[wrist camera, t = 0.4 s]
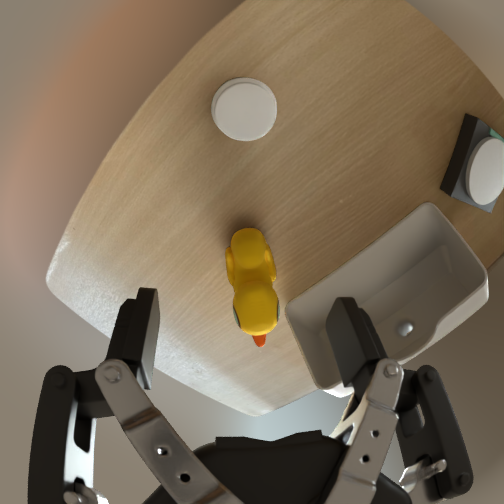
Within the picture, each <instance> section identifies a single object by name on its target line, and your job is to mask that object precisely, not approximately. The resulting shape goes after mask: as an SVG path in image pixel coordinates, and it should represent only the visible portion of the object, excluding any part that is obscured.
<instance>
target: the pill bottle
mask: <svg viewBox="0 0 504 504" xmlns="http://www.w3.org/2000/svg"><path fill="white" fill-rule="evenodd" d="M211 113H212V117H213V120H214V122H215V124H216V125H217V127H218V128H219V129H220V130H221V131H222V132H223V133H224V134H225V135H227V136H228V137H230V138H232V139H235V140H239V141H251V140H255V139H258V138H260V137H262V136H263V135H265V134H266V133H267V132H268V131H269V130H270V129H271V128H272V126H273V124H274V122H275V120H276V115H277V103H276V99H275V96H274V94H273V92H272V91H271V89H270V88H269V87H268V86H267V85H265V84H264V83H263V82H261V81H259V80H256V79H253V78H247V77H238V78H233V79H230V80H228V81H226V82H225V83H223V84H222V85H221V86H220V87H219V88H218V90H217V91H216V93H215V95H214V97H213V99H212V104H211Z"/></svg>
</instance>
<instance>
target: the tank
mask: <svg viewBox="0 0 504 504" xmlns="http://www.w3.org/2000/svg"><path fill="white" fill-rule="evenodd" d="M337 297H353V298H354V299H355V301H356V303H357V305H358V307H359V308H363V309H364V311H365V312H366V313H367V314H368V315H369V316H370V318H371V320H372V323H373V326H374V327H375V329H376V333H378V335H379V338H380V340H381V342H382V344H383V346H384V349H385V351H386V353H387V356H388V358H390V359H393V360H395V361H397V362H398V363H399V364H400V365H403V364H404V363H405V362H407V361H409V360H410V359H412V358H414V357H415V356H417V355H418V354H420V353H421V352H423V351H424V350H426V349H427V348H428V347H430V346H431V345H433V344H434V343H436V342H437V341H438V340H440V339H441V338H443V337H444V336H445V335H447V334H448V333H449V332H451V331H452V330H453V329H455V328H456V327H457V326H458V325H460V324H461V323H462V322H464V321H465V320H466V319H467V318H468V317H470V316H471V315H472V314H473V313H475V312H476V311H477V310H478V309H479V308H480V307H482V306H483V305H484V304H485V303H486V302H487V299H488V278H487V271H486V269H485V267H484V266H483V264H482V263H481V261H480V260H479V259H478V257H477V256H476V254H475V253H474V252H473V250H472V249H471V248H470V246H469V245H468V244H467V242H466V241H465V240H464V239H463V237H462V236H461V235H460V233H459V232H458V231H457V230H456V229H455V227H454V226H453V225H452V224H451V222H450V221H449V220H448V219H447V218H446V217H445V215H444V214H443V213H442V212H441V211H440V210H439V208H438V207H437V206H436V205H434V204H433V203H429V202H426V203H423V204H421V205H420V206H419V207H417V208H416V209H415V210H414V211H412V212H411V213H410V214H409V215H407V216H406V217H405V218H404V219H402V220H401V221H400V222H399V223H397V224H396V225H395V226H394V227H392V228H391V229H390V230H388V231H387V232H386V233H385V234H383V235H382V236H381V237H379V238H378V239H377V240H375V241H374V242H373V243H371V244H370V245H369V246H367V247H366V248H365V249H363V250H362V251H361V252H359V253H358V254H357V255H355V256H354V257H353V258H351V259H350V260H349V261H347V262H346V263H344V264H343V265H342V266H340V267H339V268H337V269H336V270H335V271H333V272H332V273H330V274H329V275H328V276H326V277H325V278H323V279H322V280H321V281H319V282H318V283H316V284H315V285H313V286H312V287H310V288H309V289H308V290H306V291H305V292H303V293H302V294H300V295H299V296H297V297H296V298H294V299H293V300H291V301H290V302H289V303H288V304H287V305H286V308H285V316H286V318H287V321H288V323H289V325H290V328H291V330H292V332H293V335H294V337H295V339H296V341H297V344H298V346H299V348H300V351H301V353H302V355H303V358H304V360H305V362H306V365H307V367H308V369H309V372H310V374H311V376H312V378H313V381H314V383H315V385H316V386H317V387H318V388H319V389H321V390H324V391H326V392H328V393H331V394H333V395H335V396H338V397H345V396H347V395H349V394H351V393H353V392H354V389H353V387H348V388H344V386H343V382H342V379H341V376H340V373H339V369H338V366H337V363H336V360H335V357H334V354H333V351H332V348H331V345H330V342H329V339H328V335H327V332H326V328H325V323H326V319H327V316H328V314H329V312H330V310H331V308H332V306H333V304H334V301H335V299H336V298H337ZM409 331H411V332H410V333H409V334H408V335H406V334H407V333H408V332H409Z"/></svg>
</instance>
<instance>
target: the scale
mask: <svg viewBox="0 0 504 504" xmlns="http://www.w3.org/2000/svg"><path fill="white" fill-rule="evenodd" d="M503 187H504V138H503V137H501V136H500V135H499V134H498V133H497V132H495V131H494V130H493V129H492V128H490V127H489V126H488V125H487V124H485V123H484V122H483V121H481V120H480V119H479V118H477V117H474V116H472V115H469V114H465V118H464V121H463V125H462V128H461V131H460V134H459V138H458V141H457V144H456V147H455V150H454V153H453V156H452V158H451V161H450V164H449V167H448V169H447V172H446V175H445V177H444V180H443V182H442V185H441V187H440V189H441V190H443V191H444V192H445V193H446V194H448V195H449V196H450V197H453V198H455V199H458V200H460V201H463V202H465V203H468V204H470V205H473V206H475V207H477V208H480V209H482V210H484V211H487V212H489V213H491V211H492V209H493V207H494V205H495V202H496V200H497V198H498V195H499V194H500V192H501V191H502V189H503Z"/></svg>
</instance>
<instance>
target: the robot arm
mask: <svg viewBox="0 0 504 504" xmlns="http://www.w3.org/2000/svg"><path fill="white" fill-rule="evenodd" d="M159 325H160V310H159V301H158V292H157V289H154V288H142V287H140V288H139V290H138V294H137V298H136V299H127V300H126V301H125V302H124V303H123V304H122V305H121V307H120V309H119V313H118V316H117V319H116V323H115V327H114V330H113V333H112V337H111V341H110V344H109V348H108V352H107V356H106V359H105V360H104V361H103V362H102V363H100V365H99V366H98V367H97V368H95V369H92V370H88V371H80V372H72V370H71V369H70V368H68V367H66V366H63V365H58V366H54V367H52V368H51V369H50V370H49V371H48V372H47V373H46V375H45V377H44V381H43V385H42V390H41V394H40V398H39V403H38V408H37V413H36V419H35V424H34V431H33V437H32V445H31V453H30V463H29V476H28V504H108V502H107V500H106V498H105V497H104V495H103V494H102V493H101V492H99V491H98V490H96V489H93V461H94V442H95V429H96V419H97V418H102V417H109V416H116V418H117V420H118V422H119V423H120V425H121V427H122V429H123V431H124V432H125V434H126V436H127V437H128V439H129V440H130V442H131V443H132V445H133V446H134V448H135V449H136V451H137V452H138V454H139V455H140V457H141V458H142V459H143V461H144V462H145V464H146V465H147V466H148V468H149V469H150V470H151V471H152V473H153V474H154V475H155V477H156V478H157V479H158V481H159V482H160V483H161V485H160V486H159V487H158V488H157V489H156V490H155V491H154V492H153V493H152V494H151V495H150V496H149V498H147V499H146V500H145V501H144V502H143V503H142V504H436V503H439V502H443V501H445V500H448V499H451V498H454V497H457V496H460V495H462V494H465V493H466V492H468V491H469V490H470V488H471V486H472V484H473V472H472V468H471V464H470V461H469V457H468V454H467V450H466V447H465V443H464V440H463V437H462V434H461V431H460V428H459V425H458V422H457V419H456V416H455V414H454V411H453V408H452V406H451V403H450V400H449V397H448V395H447V392H446V390H445V387H444V385H443V382H442V380H441V378H440V375H439V373H438V372H437V370H436V369H435V368H433V367H432V366H430V365H423V366H421V367H420V368H419V369H418V370H417V371H412V370H406V369H402V367H401V365H400V364H399V363H398V362H397V361H395V360H393V359H390V358H388V356H387V353H386V351H385V349H384V346H383V344H382V342H381V340H380V338H379V335H378V333H376V329H375V327H374V326H373V323H372V320H371V318H370V316H369V315H368V314H367V313H366V312H365V311H364V309H363V308H359V307H358V305H357V303H356V301H355V299H354V298H353V297H337V298H336V299H335V301H334V304H333V306H332V308H331V310H330V312H329V314H328V316H327V319H326V323H325V328H326V332H327V335H328V339H329V342H330V345H331V348H332V351H333V354H334V357H335V360H336V363H337V366H338V369H339V373H340V376H341V379H342V382H343V386H344V388H348V387H353V389H354V392H353V393H352V395H351V397H350V399H349V402H348V404H347V406H346V408H345V411H344V413H343V415H342V417H341V419H340V422H339V424H338V425H337V427H336V428H335V430H334V431H333V432H332V434H331V435H330V437H329V436H324V435H322V432H321V430H315V431H308V432H301V433H295V434H293V435H290V436H287V437H284V438H281V439H278V440H275V441H264V440H258V439H253V438H248V437H216V440H215V442H213V443H208V444H206V445H203V446H201V447H199V448H197V449H195V450H194V451H191V450H190V449H189V448H188V446H187V445H186V444H185V442H184V441H183V440H182V439H181V438H180V436H179V435H178V434H177V433H176V431H175V430H174V429H173V427H172V426H171V425H170V423H169V422H168V421H167V420H166V418H165V417H164V416H163V414H162V413H161V412H160V411H159V410H158V409H157V408H156V407H155V406H154V405H153V403H152V402H151V401H150V399H149V398H148V396H147V395H146V393H145V392H144V389H147V390H151V381H152V374H153V366H154V359H155V352H156V345H157V338H158V332H159ZM418 404H420V406H421V409H422V413H423V416H424V419H425V425H424V426H423V423H422V420H421V416H420V414H419V411H418V407H417V405H418ZM395 430H396V434H397V438H398V441H399V445H400V449H401V453H402V457H403V462H404V466H405V471H404V473H403V477H402V478H401V479H400V485H401V486H402V487H400V486H399V485H397V484H396V483H395V482H393V481H392V480H390V479H389V478H388V477H386V476H385V475H384V474H382V473H381V472H380V471H381V468H382V466H383V463H384V461H385V458H386V455H387V452H388V449H389V446H390V444H391V440H392V437H393V434H394V431H395Z"/></svg>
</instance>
